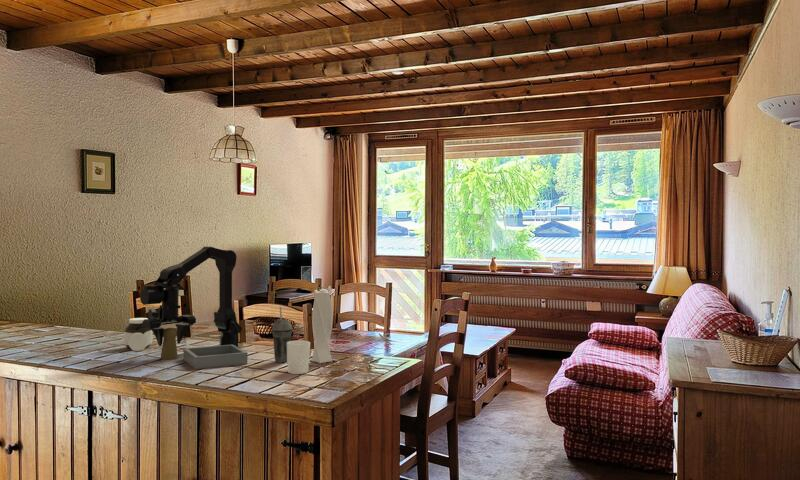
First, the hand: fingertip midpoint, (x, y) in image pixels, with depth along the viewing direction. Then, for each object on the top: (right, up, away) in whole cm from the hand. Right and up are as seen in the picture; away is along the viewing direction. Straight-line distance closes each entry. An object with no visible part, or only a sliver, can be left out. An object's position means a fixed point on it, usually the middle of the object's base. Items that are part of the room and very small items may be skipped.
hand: (169, 344), depth 213 cm
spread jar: (-19, -5, +17) cm, 26 cm away
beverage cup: (+42, -6, -3) cm, 42 cm away
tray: (+18, -5, -5) cm, 20 cm away
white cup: (+51, -6, -19) cm, 54 cm away
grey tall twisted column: (+57, -6, -2) cm, 57 cm away
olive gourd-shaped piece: (0, -5, 0) cm, 5 cm away
